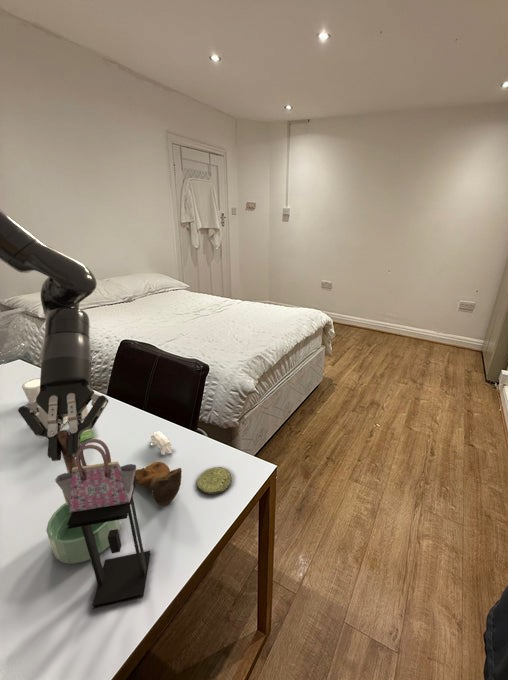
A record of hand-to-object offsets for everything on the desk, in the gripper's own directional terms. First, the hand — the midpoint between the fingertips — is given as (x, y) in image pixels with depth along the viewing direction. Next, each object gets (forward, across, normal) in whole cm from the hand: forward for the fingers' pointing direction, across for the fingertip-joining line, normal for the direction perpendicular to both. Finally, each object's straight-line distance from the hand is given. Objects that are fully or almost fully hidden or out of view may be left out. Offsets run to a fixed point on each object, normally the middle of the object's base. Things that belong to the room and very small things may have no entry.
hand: (64, 458), depth 54 cm
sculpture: (+8, +12, +21) cm, 26 cm away
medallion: (+10, +25, +20) cm, 33 cm away
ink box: (-11, -8, +41) cm, 43 cm away
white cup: (-26, -23, +56) cm, 65 cm away
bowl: (+14, 0, +16) cm, 21 cm away
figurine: (-2, +12, +32) cm, 34 cm away
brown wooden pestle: (+6, 0, +9) cm, 11 cm away
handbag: (+21, +7, +8) cm, 24 cm away
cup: (-17, -16, +46) cm, 52 cm away
